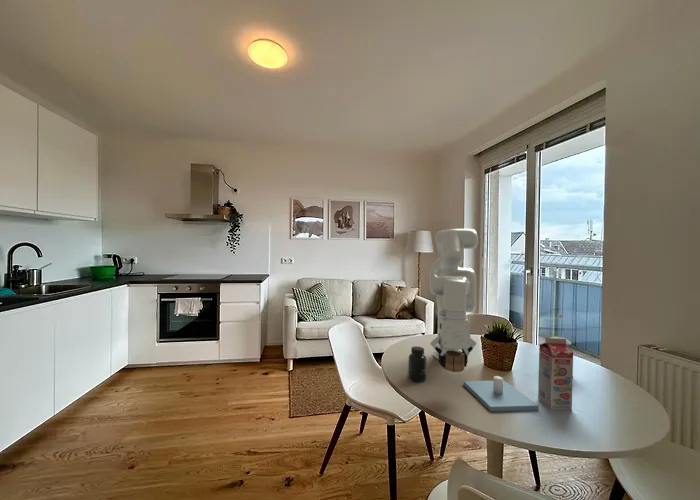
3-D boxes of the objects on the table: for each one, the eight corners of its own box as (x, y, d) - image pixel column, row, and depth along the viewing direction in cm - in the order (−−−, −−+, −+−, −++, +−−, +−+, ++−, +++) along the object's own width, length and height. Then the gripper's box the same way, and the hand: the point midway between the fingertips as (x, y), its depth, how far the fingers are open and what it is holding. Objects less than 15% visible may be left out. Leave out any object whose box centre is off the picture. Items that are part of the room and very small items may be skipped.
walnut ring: (439, 363, 106) (439, 349, 105) (457, 362, 106) (458, 349, 106) (447, 372, 99) (447, 357, 98) (467, 371, 99) (467, 356, 99)
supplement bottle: (426, 383, 111) (427, 352, 111) (407, 381, 112) (408, 350, 112) (425, 376, 118) (426, 346, 118) (408, 374, 119) (408, 344, 119)
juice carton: (538, 399, 101) (539, 335, 101) (557, 399, 101) (559, 335, 101) (550, 409, 95) (552, 341, 94) (571, 410, 94) (573, 341, 94)
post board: (463, 385, 110) (463, 367, 110) (503, 384, 112) (504, 367, 112) (490, 411, 93) (491, 390, 93) (538, 410, 94) (538, 389, 94)
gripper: (433, 317, 97) (432, 370, 98) (484, 317, 99) (482, 369, 99) (426, 312, 105) (424, 361, 105) (472, 311, 106) (471, 360, 107)
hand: (452, 365), depth 102 cm, fingers closed on walnut ring, 7 cm apart
